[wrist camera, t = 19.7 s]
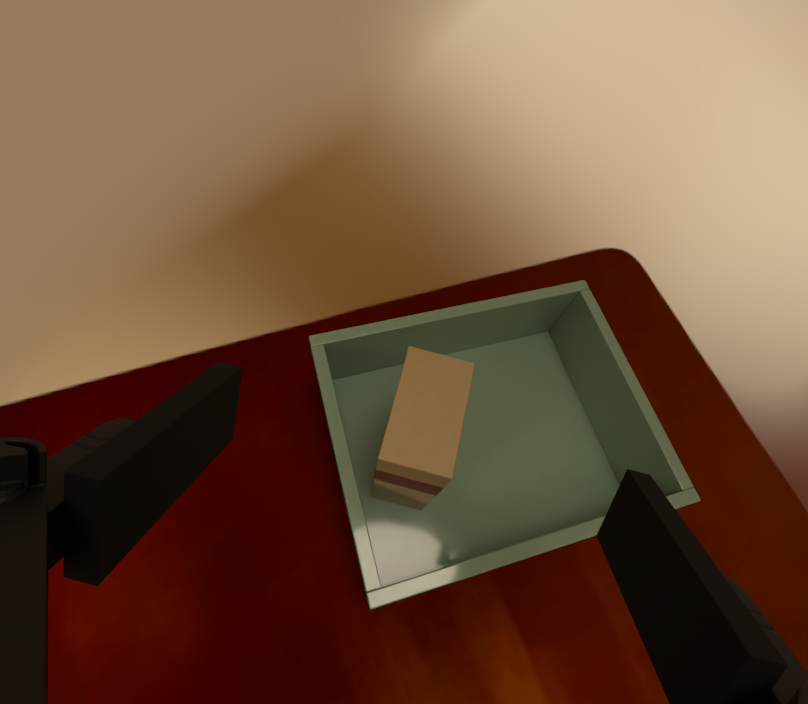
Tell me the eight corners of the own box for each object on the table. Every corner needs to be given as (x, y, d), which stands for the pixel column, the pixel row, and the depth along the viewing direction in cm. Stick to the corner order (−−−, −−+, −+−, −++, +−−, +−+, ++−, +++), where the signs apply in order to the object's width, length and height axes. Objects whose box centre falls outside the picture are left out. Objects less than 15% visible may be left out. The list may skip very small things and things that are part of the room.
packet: (421, 511, 31) (453, 479, 21) (370, 497, 31) (377, 459, 21) (440, 426, 34) (475, 362, 24) (393, 413, 34) (408, 344, 24)
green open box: (316, 377, 35) (308, 335, 29) (549, 326, 39) (585, 279, 33) (367, 603, 29) (370, 610, 23) (637, 515, 33) (701, 500, 27)
